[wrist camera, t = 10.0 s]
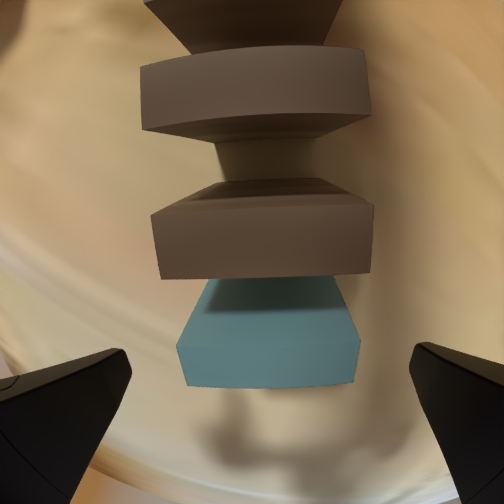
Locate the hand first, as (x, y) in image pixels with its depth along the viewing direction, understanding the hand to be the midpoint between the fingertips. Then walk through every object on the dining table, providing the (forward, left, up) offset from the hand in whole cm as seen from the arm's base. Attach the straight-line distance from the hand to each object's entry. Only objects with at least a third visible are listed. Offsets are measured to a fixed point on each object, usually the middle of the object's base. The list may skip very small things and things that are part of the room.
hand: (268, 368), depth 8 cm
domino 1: (-9, -6, -8) cm, 13 cm away
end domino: (0, 0, -8) cm, 8 cm away
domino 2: (-6, -4, -8) cm, 11 cm away
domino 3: (-3, -2, -8) cm, 9 cm away
